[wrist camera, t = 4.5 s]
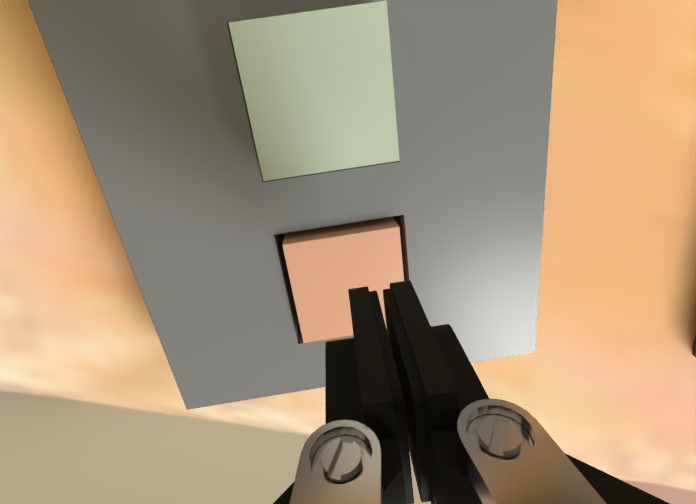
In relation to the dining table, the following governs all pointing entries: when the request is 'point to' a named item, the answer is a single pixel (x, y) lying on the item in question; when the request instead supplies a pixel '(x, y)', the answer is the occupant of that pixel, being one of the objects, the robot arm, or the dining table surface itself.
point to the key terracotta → (340, 271)
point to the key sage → (319, 89)
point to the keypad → (310, 176)
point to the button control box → (694, 348)
